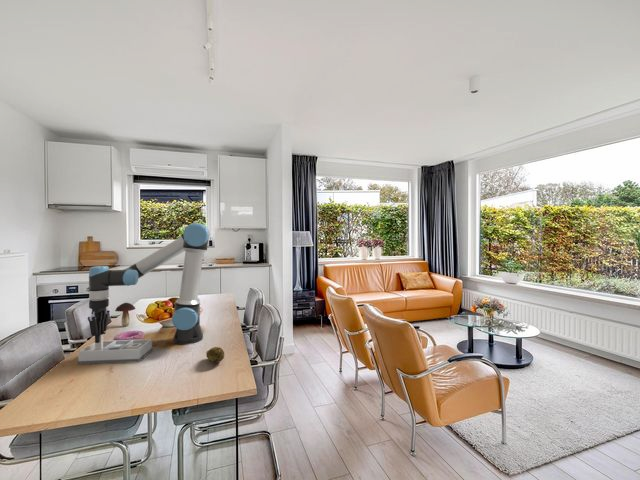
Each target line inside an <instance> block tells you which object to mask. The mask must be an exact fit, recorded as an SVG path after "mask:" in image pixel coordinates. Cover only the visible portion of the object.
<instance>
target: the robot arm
mask: <svg viewBox="0 0 640 480" xmlns="http://www.w3.org/2000/svg"><path fill="white" fill-rule="evenodd" d="M209 239H210V230H209V228H208V227H207V226H206V225H205V224H202V223H200V222H193V223H191V224H188V225H187V226H186V227H185V228H184V231H183V233H181V234H180V236H179V237H178V238H177V239H175V240H173V241H172V242H170V243H168V244H166V245H165V246H162V247H161V248H159V249H158V250H156V251H154V252H152V253H151V254H149V255H147V256H146V257H143V258H142V259H141V260H139V261H137V262H136V263H133V264H131V265H130V266H129V267H127V268H125V269H117V270H115V269H113V270H111V269H110V267H109V266H107V265H98V266H97V265H96V266H91V267H90V268H89V273H88V291H89V292H88V295H89V296H88V297H89V298H88V300H89V301H88V307H89V309H90V310H91V312H90V313H91V315H90V316H88V317H87V321H88V323H89V329H90V334H91V336H92V337H94V343H95V349H102V348H103V341H104V335H105V334H106V333H107V327H108V323H109V322H108V321H109V315H110V312H111V311H110V310H107V307H109V305H110V301H109V300H110V299H109V297H110V295H109V294H110V292H109V291H110V287H115V286H116V287H119V286H125V287H126V286H128V287H129V286H136V285H137V284H138V281H139V279H140V278H142V277H143V276H145V275H147V274H149V273H150V272H151V271H153V270H155V269H157V268H159V267H160V266H162V265H165V263H167V262H169V261H170V260H172V259H173V258H175V257H177V256H179V255H181V254H182V253H184V252H185V254H184V260H183V270H182V274H181V283H180V289H179V290H180V292H179V296H178V298H177V300H175V303H174V311H173V314H172V315H171V321H172V324H173V326H174V328H175V332H174V335H173V343H175V344H177V345H188V344H189V345H190V344H195V343H197V342H200V341H202V340H203V339H204V333H203V330H202V328H201V325H200V324H201V320H200V319H201V317H200V315H201V306H200V305H201V302H200V301H201V300H200V298H199V297H198V295H199V288H200V283H201V282H200V280H201V275H202V274H201V273H202V266H203V260H204V259H203V258H204V253H206V252H207V251H208V247H209Z"/></svg>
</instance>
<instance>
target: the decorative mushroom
mask: <svg viewBox="0 0 640 480" xmlns="http://www.w3.org/2000/svg"><path fill="white" fill-rule="evenodd" d="M135 310H136V307H135V306H134V305H133V304H132V303H129V302H124V303H122V304H119V305H118V306H117V307H116V309H115V310H114V311H115V312H122V315H121V325H122V327H128V326H129V325H130V314H129V312H130V311H135Z"/></svg>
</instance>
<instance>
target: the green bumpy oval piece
mask: <svg viewBox="0 0 640 480" xmlns="http://www.w3.org/2000/svg"><path fill="white" fill-rule="evenodd" d="M225 354H226V353H225V351H224V349H223V348H222V347H221V346H220V347H219V346H213V347H211V348H210V349H208V350H206V354H205V355H206V358H207V359H208V360H209V361H210V362H212V363H214V364H215V363H216V364H217V363H220V362H222V361H223V360H224V359H225Z"/></svg>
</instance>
